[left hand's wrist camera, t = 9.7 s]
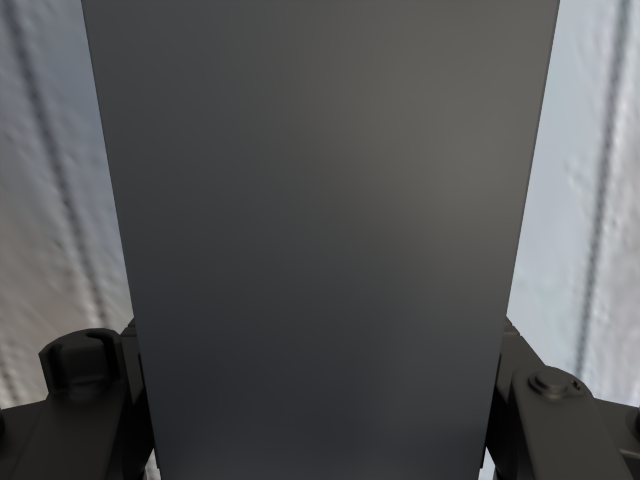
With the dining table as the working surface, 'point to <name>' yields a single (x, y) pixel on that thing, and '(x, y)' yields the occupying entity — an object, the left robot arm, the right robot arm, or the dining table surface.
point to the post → (320, 223)
